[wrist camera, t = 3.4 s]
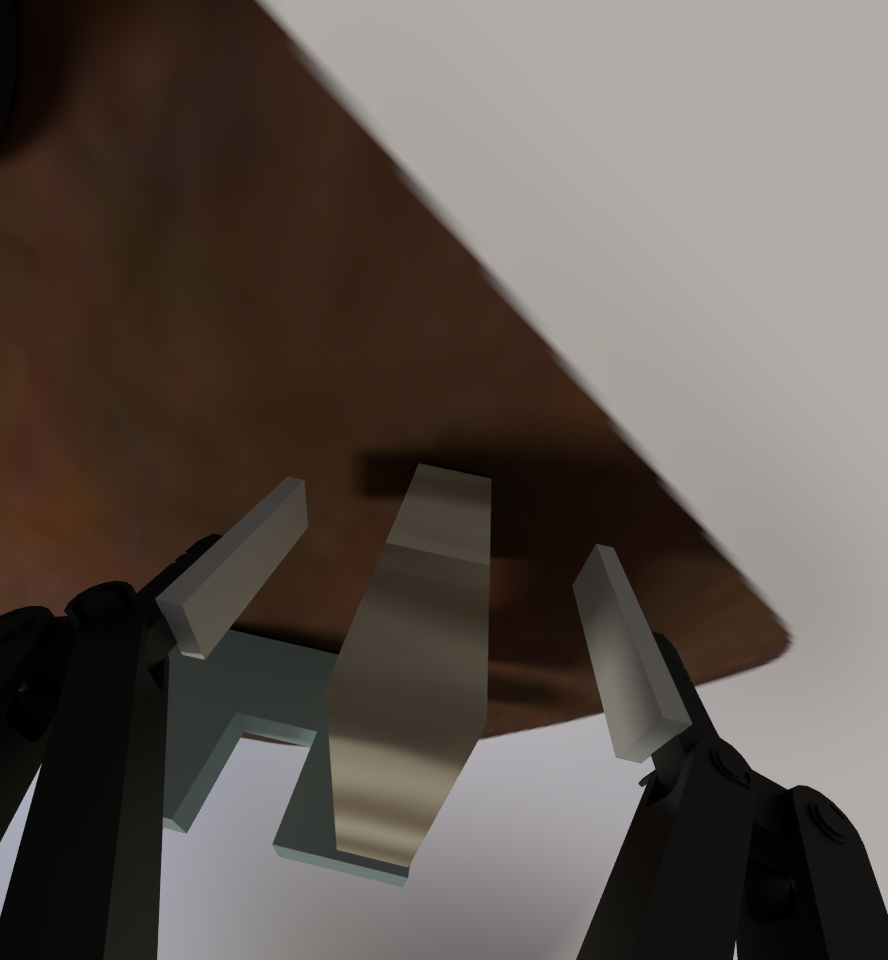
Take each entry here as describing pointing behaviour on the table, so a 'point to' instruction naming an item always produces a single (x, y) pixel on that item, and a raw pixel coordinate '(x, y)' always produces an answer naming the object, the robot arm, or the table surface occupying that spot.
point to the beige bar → (413, 669)
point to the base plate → (267, 712)
